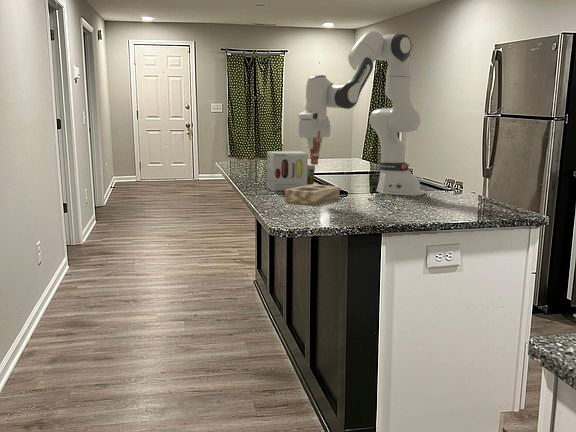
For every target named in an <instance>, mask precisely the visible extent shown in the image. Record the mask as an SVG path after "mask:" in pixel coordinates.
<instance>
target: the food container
mask: <svg viewBox="0 0 576 432" xmlns="http://www.w3.org/2000/svg"><path fill="white" fill-rule="evenodd" d="M315 171H316V166H315V165H312V164H310V165H309V164H308V165H307V185H311V184H315Z"/></svg>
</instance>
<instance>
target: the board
mask: <svg viewBox="0 0 576 432" xmlns="http://www.w3.org/2000/svg"><path fill="white" fill-rule="evenodd" d="M340 190H341V189H340V186H336V185H326V184H315V183H314V184H311V185H306V186H301V187H296V188H291V189H286V190H285V191H284V192H285V193H284V201H285V202H288V203H296V204H297V203H298V204H304V205H317V204H320V203H325V202H329V201H332V200H337V199H339V198H340Z"/></svg>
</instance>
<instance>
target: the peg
mask: <svg viewBox="0 0 576 432" xmlns="http://www.w3.org/2000/svg"><path fill="white" fill-rule="evenodd" d="M312 141H313V145H314V149H309V152H310V153H309V158H310V165H318V166H319V159H320V152H321V148H320V131H318V136H317V137H316V138H313V140H312Z"/></svg>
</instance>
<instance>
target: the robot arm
mask: <svg viewBox="0 0 576 432" xmlns="http://www.w3.org/2000/svg"><path fill="white" fill-rule="evenodd" d="M411 51H412V41H411V39H410V37H409V35H407V34H405V33H401V32H400V33H389V34H388V33H387V34H385V35H382V34H381V33H380V32H379V31H376V30H369V31H367V32H366V33H365V34H363V36H361V37H360V38H359V39H358V40H357V42H356V43H355V44H354V45H353V46H352V47H351V49H350V51H349V52H348V56H347V60H348V64H349V65H350V67H351V68H352V69H353V70H354V71H355V72H354V73H353V74H352V76H351V78H350V80H349V81H348V82H346V83H340V84H335V83H333V82H332V81H330V80H329V79H328V78H327V76H326V75H325V74H320V75H319V74H317V75H312V76H309V77H308V78H307V81H306V86H305V100H306V103H305V107H304V108H305V110H303V111H302V112H300V113H299V114H298V120H299V121H298V135H299V138H302V139H306V141H307V145H308V149H309V150H310V149H314V145H313V141H312V140H313V138H316V137H317V136H318V131H320V149H321V148H322V147H321V146H322V143H323V138H329V137H331V121H330V120H329V117H328V115H327V114H328V113H327V112H328V111H327V108H334V109H335V108H336V109H337V108H338V109H345V110H347V109H348V110H349V109H352V108H354V107H355V106H356V105H357V103H358V101H359V98H360V95H361V92H362V90H363V88H364V87H365V85H366V83H367V81H368V79H369V78H370V75H371V74H372V71H373V69H374V63H375V61H377V62H381V61H386V62H387V68H386V76H385V86H384V87H385V89H384V93H385V96H386V97H387V98H388V99H389V100H390V101H391V103H392V107H382V108H378V109H374V110H373V111H372V112H371V114H370V116H369V124H370V127H371V128H372V129H373V130H374V131H375V133H376V135H377V136H378V139H379V142H380V161H379V179H378V183H377V188H376V192H378V193H380V194H383V195H394V196H395V195H396V196H407V197H409V196H414V197H415V196H422V195H425V194H426V191H425V190H421V182H420V180H419V179H418V178H417V177H416V176H415V175H414V174H413V173H412V172H411V171H409V167H410V164H409V163H407V162H405V161H406V160H405V159H406V145H405V143H404V142H403V141H402V140H400V139H399V137H398V133H404V134H405V133H411V132H415V131H417V130H418V129H419V127H420V125H421V115H420V113H419V111H417V110H416V109H415V107H414V105H413V104H412V101H411V96H410V91H411V78H412V77H411V76H412V64H411V63H412V62H411V57H410V55H411Z"/></svg>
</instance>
